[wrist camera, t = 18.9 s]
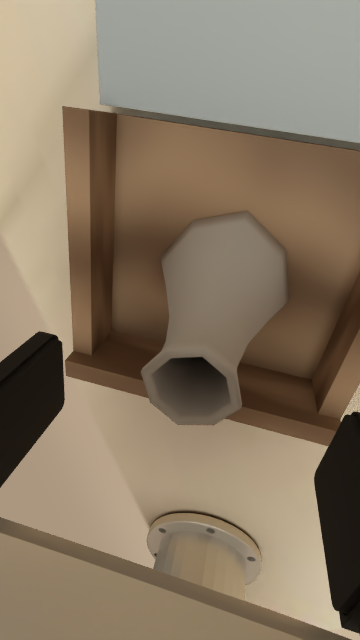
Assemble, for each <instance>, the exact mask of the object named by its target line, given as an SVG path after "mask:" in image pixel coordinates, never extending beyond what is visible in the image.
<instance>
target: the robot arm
mask: <svg viewBox="0 0 360 640" xmlns="http://www.w3.org/2000/svg"><path fill="white" fill-rule="evenodd" d="M63 376H64V375H63V352H62V342H61V341H59V340H58V337H57V336H56V335H53V334H49V333H45V332H38V333H36V334H35V335H34V336H32V337H31V338H30V339H29V340H27V341H26V342H25V343H24V344H22V345H21V346H20V347H19V348H18V349H16V350H15V351H14V352H12V353H11V354H10V355H9V356H7V357H6V358H5V359H4V360H2V361H1V362H0V487H1V486H2V485H3V483H4V482H5V481H6V480H7V478H8V477H9V476H10V474H11V473H12V472H13V471H14V469H15V468H16V467H17V466H18V464H19V463H20V462H21V460H22V459H23V458H24V457H25V455H26V454H27V453H28V452H29V450H30V449H31V448H32V446H33V445H34V444H35V443H36V441H37V440H38V439H39V437H40V436H41V435H42V434H43V432H44V431H45V430H46V429H47V427H48V426H49V425H50V423H51V422H52V421H53V420H54V418H55V417H56V416H57V415H58V413H59V412H60V411H61V409H62V407H63V405H64V400H65V399H64V377H63ZM314 483H315V490H316V497H317V504H318V511H319V518H320V525H321V532H322V539H323V545H324V552H325V559H326V566H327V573H328V580H329V587H330V593H331V600H332V605H333V607H334V609H335V610H336V611H339V614H340V620H341V626H342V628H345V629H348V630H351V631H353V632H356V633H359V634H360V413H359V412H353V413H352V414H351V415H345V417H344V418H343V420H342V422H341V424H340V426H339V428H338V430H337V432H336V433H335V435H334V437H333V439H332V441H331V443H330V445H329V447H328V449H327V451H326V453H325V455H324V456H323V458H322V460H321V462H320V464H319V466H318V468H317V470H316V472H315V477H314ZM147 545H148V548H149V550H150V552H151V554H152V555H153V557H154V558H155V559H156V561H155V565H154V569H151V568H148V567H145V566H142V565H139V564H136V563H133V562H131V561H127V560H125V559H122V558H119V557H116V556H113V555H110V554H107V553H104V552H101V551H98V550H95V549H93V548H89V547H87V546H84V545H81V544H78V543H75V542H72V541H69V540H66V539H63V538H60V537H57V536H54V535H51V534H48V533H45V532H42V531H39V530H36V529H33V528H30V527H27V526H24V525H21V524H19V523H15V522H12V521H10V520H7V519H4V518H1V517H0V640H351V639H348V638H346V637H343V636H340V635H338V634H335V633H332V632H329V631H327V630H324V629H321V628H319V627H316V626H313V625H310V624H308V623H305V622H302V621H300V620H297V619H294V618H291V617H289V616H286V615H283V614H280V613H277V612H275V611H272V610H269V609H266V608H263V607H260V606H257V605H255V604H252V603H249V602H246V601H244V597H245V585H247V584H250V583H251V582H253V581H254V580H256V578H257V577H258V576H259V574H260V571H261V555H260V551H259V549H258V548H257V546H256V544H255V543H254V542H253V541H252V540H251V539H250V538H249V537H248V536H247V535H246V534H245V533H243V532H242V531H241V530H239V529H238V528H236V527H234V526H233V525H231V524H228V523H226V522H224V521H222V520H219V519H216V518H213V517H210V516H206V515H201V514H194V513H175V514H169V515H166V516H163V517H160V518H159V519H157V520H156V521H155V522H154V523H153V524H152V525H151V527H150V530H149V533H148V537H147Z"/></svg>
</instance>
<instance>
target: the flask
mask: <svg viewBox="0 0 360 640" xmlns="http://www.w3.org/2000/svg"><path fill="white" fill-rule="evenodd" d="M161 263H162V269H163V274H164V279H165V284H166V291H167V300H168V308H169V323H168V330H167V336H166V342H165V344H164V346H163V349H162V351H161V352H160V353H159V354H158V355H157V356H155V357H154V358H153V359H152V360H151V361H150V362H149V363H148V364H146V365H145V366H144V367H143V368H142V371H141V375H142V378H143V381H144V384H145V387H146V390H147V394H148V397H149V400H150V403H152V404H153V405H154V406H155V407H157V408H158V409H159V410H160V411H162V412H163V413H164V414H165V415H167V416H168V417H169V418H170V419H171V420H173V421H174V422H175V423H176V424H178V425H215V424H216V423H218V422H220V421H221V420H223V419H225V418H226V417H228V416H229V415H231V414H233V413H234V412H236V411H237V410H239V409H241V406H242V401H241V394H240V388H239V382H238V376H237V366H238V364H239V362H240V360H241V358H242V356H243V354H244V351H245V349H246V347H247V345H248V343H249V342H250V341H251V340H252V339H253V337H254V336H255V335H256V334H257V333H258V332H259V331H260V330H261V328H262V327H263V326H264V325H265V324H266V323H267V322H268V321H269V320H270V319H271V318H272V317H273V316H274V315H275V314H276V313H277V312H278V311H279V310H280V309H281V308H282V307H283V306H284V305H285V304H286V303H287V302H288V301H289V299H290V298H289V283H288V269H287V254H286V249H285V248H284V247H283V246H282V245H281V244H280V243H279V242H278V241H277V240H276V239H275V238H274V237H273V236H272V235H271V234H270V233H269V232H268V231H267V230H266V229H265V228H264V227H263V226H262V225H261V224H260V223H259V222H258V221H257V220H256V219H255V218H254V217H253V216H252V215H251V214H250V213H249V212H248V211H245V212H239V213H233V214H227V215H221V216H216V217H210V218H204V219H198V220H193V221H192V222H191V224H190V225H189V226H188V227H187V228H186V229H185V230H184V231H183V233H182V234H181V235H180V236H179V237H178V238H177V239H176V240H175V242H174V243H173V244H172V245H171V246H170V247H169V248H168V249H167V251H166V252H165V253H164V254H163V255H162V256H161Z"/></svg>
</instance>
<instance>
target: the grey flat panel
mask: <svg viewBox="0 0 360 640" xmlns="http://www.w3.org/2000/svg"><path fill="white" fill-rule="evenodd" d="M95 3H96V24H97V46H98V68H99V90H100V104H102V105H109V106H116V107H122V108H129V109H136V110H142V111H149V112H156V113H162V114H169V115H176V116H182V117H189V118H196V119H202V120H209V121H216V122H222V123H229V124H236V125H242V126H249V127H256V128H262V129H269V130H276V131H282V132H289V133H296V134H302V135H309V136H316V137H322V138H329V139H336V140H342V141H349V142H356V143H360V0H95Z"/></svg>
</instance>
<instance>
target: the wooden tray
mask: <svg viewBox="0 0 360 640" xmlns="http://www.w3.org/2000/svg"><path fill="white" fill-rule="evenodd" d="M62 108H63V130H64V152H65V174H66V196H67V218H68V240H69V262H70V284H71V306H72V327H73V349H74V351H73V352H72V353H71V354H70V356H69V357H68V358H67V359H66V360H65V366H66V376H69V377H72V378H76V379H80V380H83V381H87V382H91V383H95V384H98V385H102V386H106V387H110V388H113V389H117V390H121V391H125V392H128V393H132V394H136V395H139V396H143V397H147V398H149V397H148V394H147V390H146V387H145V384H144V381H143V378H142V375H141V371H142V368H143V367H144V366H145V365H146V364H148V363H149V362H150V361H151V360H152V359H153V358H154V357H155V356H157V355H158V354H159V353H160V352H161V351H162V349H163V346H164V344H165V342H166V336H167V330H168V323H169V308H168V300H167V291H166V284H165V279H164V274H163V269H162V263H161V256H162V255H163V254H164V253H165V252H166V251H167V249H168V248H169V247H170V246H171V245H172V244H173V243H174V242H175V240H176V239H177V238H178V237H179V236H180V235H181V234H182V233H183V231H184V230H185V229H186V228H187V227H188V226H189V225H190V224H191V222H192V221H193V220H198V219H204V218H210V217H216V216H221V215H227V214H233V213H239V212H245V211H248V212H249V213H250V214H251V215H252V216H253V217H254V218H255V219H256V220H257V221H258V222H259V223H260V224H261V225H262V226H263V227H264V228H265V229H266V230H267V231H268V232H269V233H270V234H271V235H272V236H273V237H274V238H275V239H276V240H277V241H278V242H279V243H280V244H281V245H282V246H283V247H284V248H285V249H286V254H287V269H288V283H289V298H290V299H289V301H288V302H287V303H286V304H285V305H284V306H283V307H282V308H281V309H280V310H279V311H278V312H277V313H276V314H275V315H274V316H273V317H272V318H271V319H270V320H269V321H268V322H267V323H266V324H265V325H264V326H263V327H262V328H261V330H260V331H259V332H258V333H257V334H256V335H255V336H254V337H253V339H252V340H251V341H250V342H249V343H248V345H247V347H246V349H245V351H244V354H243V356H242V358H241V360H240V362H239V364H238V366H237V376H238V382H239V388H240V394H241V401H242V406H241V409H239V410H237V411H236V412H234V413H233V414H231V415H229V416H228V417H226V418H225V419H229V420H233V421H237V422H240V423H244V424H248V425H251V426H255V427H259V428H263V429H266V430H270V431H274V432H278V433H281V434H285V435H289V436H293V437H296V438H300V439H304V440H307V441H311V442H315V443H319V444H322V445H326V446H329V445H330V443H331V441H332V439H333V437H334V435H335V433H336V432H337V430H338V428H339V426H340V424H341V421H340V418H341V417H342V415H343V413H344V411H345V409H346V407H347V406H348V404H349V402H350V400H351V398H352V396H353V395H354V393H355V391H356V389H357V387H358V385H359V384H360V151H358V150H351V149H345V148H338V147H332V146H325V145H319V144H312V143H305V142H299V141H292V140H286V139H279V138H273V137H266V136H260V135H253V134H247V133H240V132H234V131H227V130H220V129H214V128H207V127H201V126H194V125H188V124H181V123H175V122H168V121H162V120H155V119H148V118H142V117H135V116H129V115H122V114H116V113H109V112H102V111H94V110H87V109H79V108H72V107H64V106H62Z"/></svg>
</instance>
